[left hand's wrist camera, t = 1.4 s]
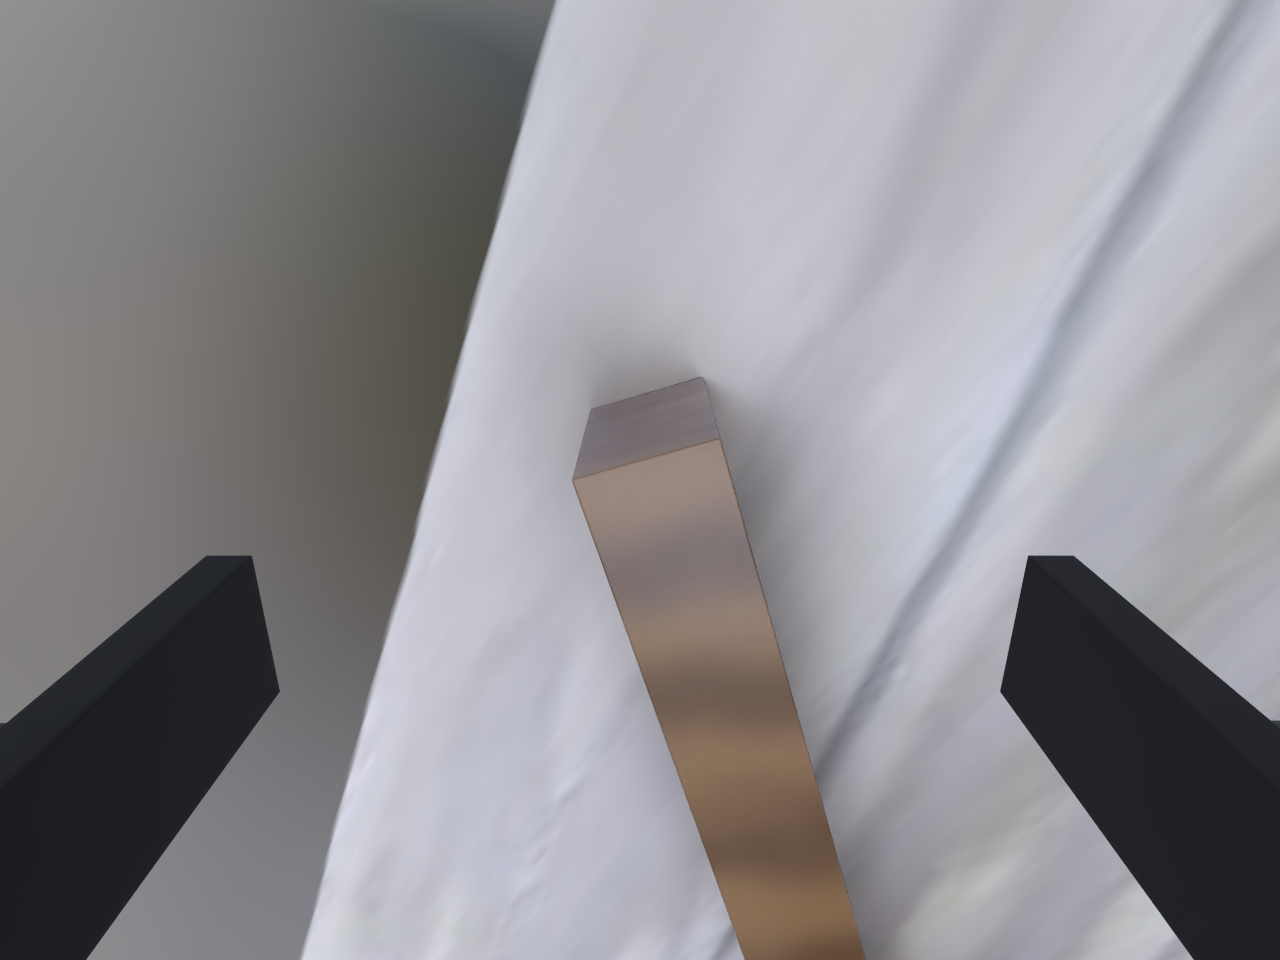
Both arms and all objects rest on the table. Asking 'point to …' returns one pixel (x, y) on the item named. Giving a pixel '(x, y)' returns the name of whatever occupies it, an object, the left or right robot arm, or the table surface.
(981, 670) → the table surface
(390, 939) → the table surface
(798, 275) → the table surface
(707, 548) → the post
